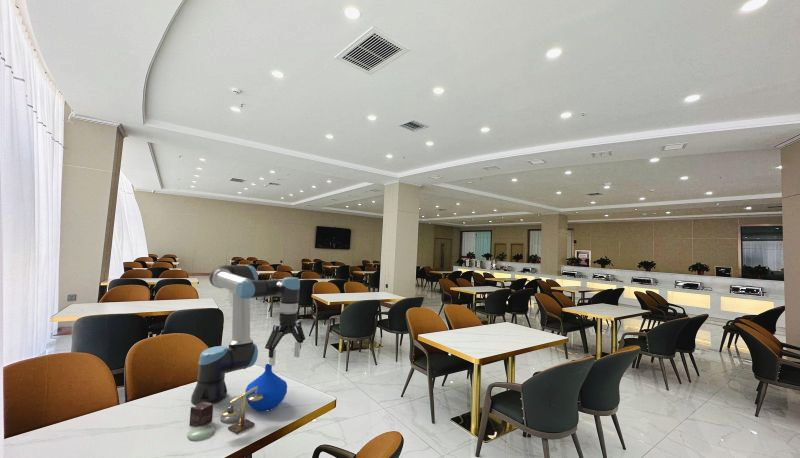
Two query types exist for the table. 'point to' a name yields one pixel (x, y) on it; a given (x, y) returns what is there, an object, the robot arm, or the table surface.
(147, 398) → the table surface
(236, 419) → the grey plastic dome
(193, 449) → the table surface
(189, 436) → the mint green rounded dome
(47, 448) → the table surface
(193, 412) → the box
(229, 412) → the balance
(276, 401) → the vase
